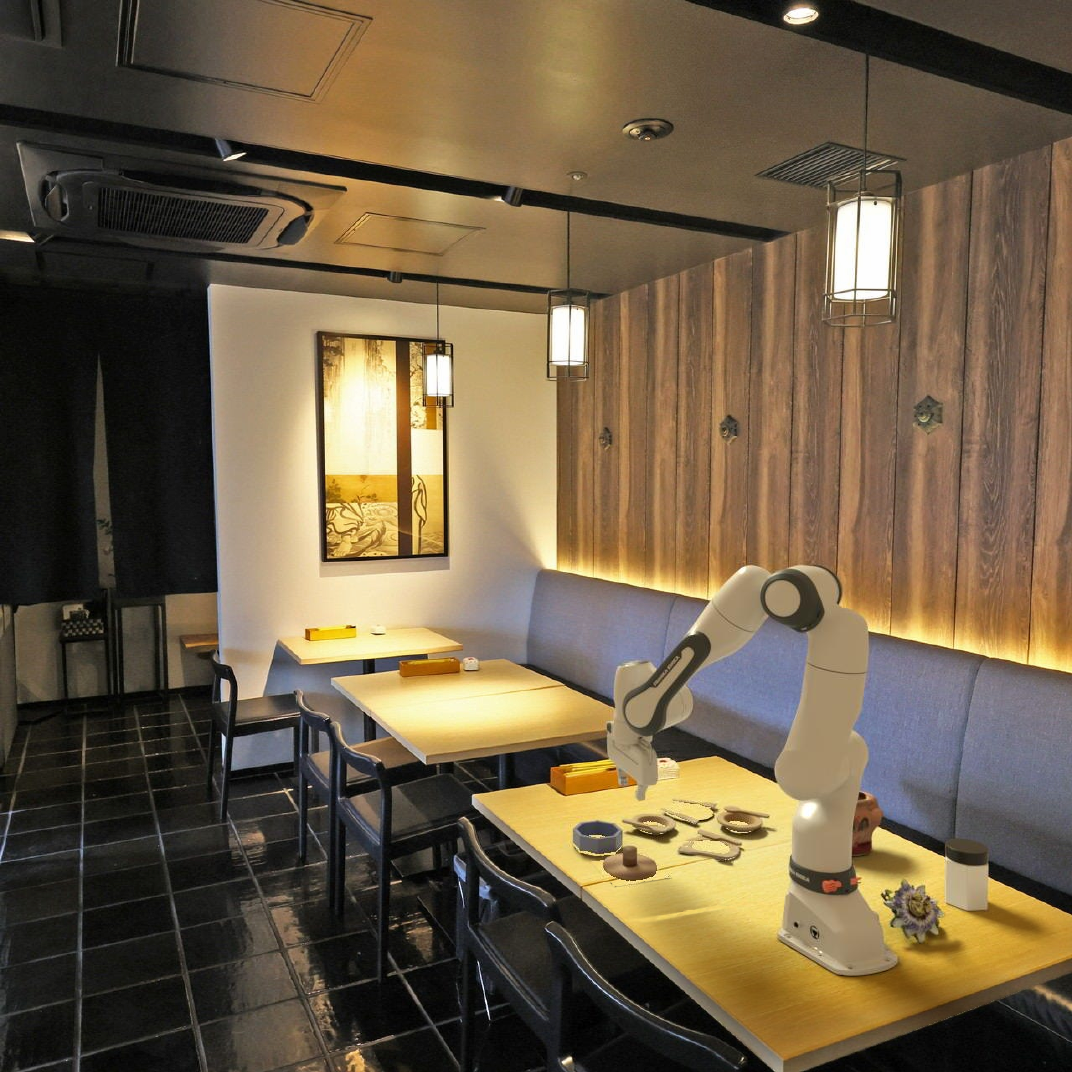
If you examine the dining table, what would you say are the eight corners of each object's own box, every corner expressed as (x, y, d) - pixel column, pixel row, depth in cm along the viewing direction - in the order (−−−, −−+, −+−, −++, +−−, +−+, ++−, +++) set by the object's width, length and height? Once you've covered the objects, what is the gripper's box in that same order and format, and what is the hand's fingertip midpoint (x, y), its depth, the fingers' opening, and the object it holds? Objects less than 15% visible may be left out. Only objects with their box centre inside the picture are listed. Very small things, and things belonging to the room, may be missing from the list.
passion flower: (919, 968, 163) (897, 929, 159) (880, 931, 173) (859, 893, 169) (963, 932, 165) (943, 892, 160) (922, 897, 175) (902, 858, 170)
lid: (666, 876, 189) (666, 855, 189) (616, 884, 185) (616, 862, 185) (642, 855, 200) (642, 835, 200) (594, 862, 196) (595, 841, 196)
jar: (973, 892, 183) (975, 837, 183) (997, 910, 175) (999, 852, 175) (934, 894, 183) (935, 838, 182) (956, 912, 174) (958, 854, 174)
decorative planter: (825, 866, 196) (826, 807, 195) (792, 846, 207) (793, 790, 207) (895, 855, 203) (896, 797, 202) (859, 835, 214) (860, 781, 214)
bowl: (628, 855, 202) (628, 835, 202) (584, 862, 198) (584, 841, 198) (609, 838, 212) (609, 818, 212) (568, 844, 209) (568, 823, 208)
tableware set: (721, 871, 195) (722, 853, 194) (612, 840, 212) (612, 824, 212) (779, 825, 222) (780, 809, 222) (679, 800, 240) (679, 786, 240)
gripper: (666, 743, 183) (664, 807, 183) (627, 719, 202) (626, 776, 203) (639, 746, 181) (637, 810, 181) (602, 720, 200) (601, 778, 201)
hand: (631, 792), depth 192 cm, fingers open, 8 cm apart
